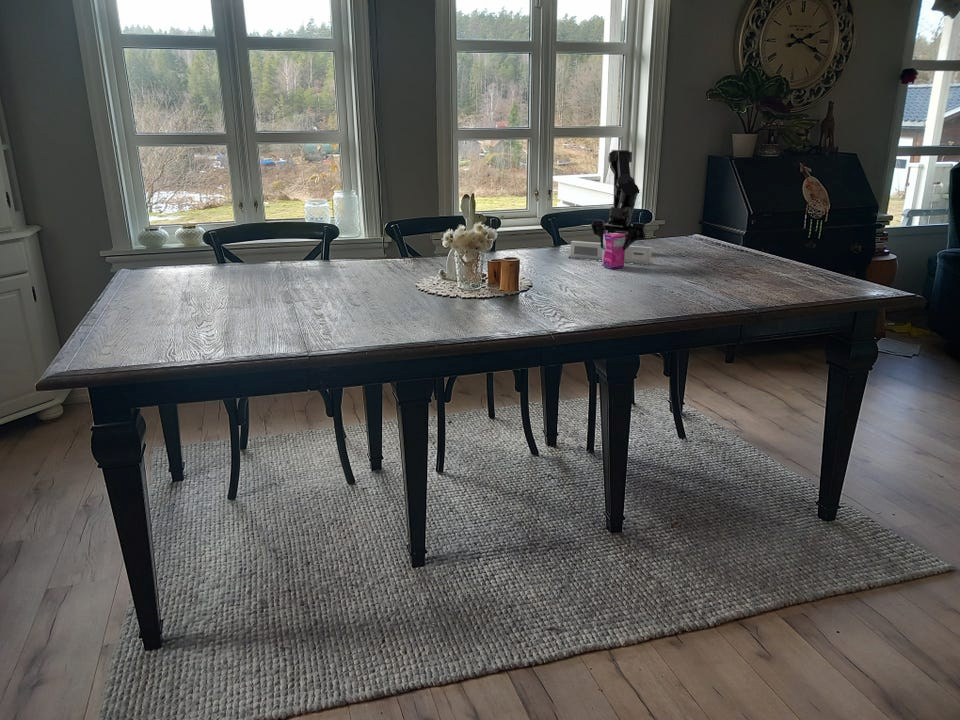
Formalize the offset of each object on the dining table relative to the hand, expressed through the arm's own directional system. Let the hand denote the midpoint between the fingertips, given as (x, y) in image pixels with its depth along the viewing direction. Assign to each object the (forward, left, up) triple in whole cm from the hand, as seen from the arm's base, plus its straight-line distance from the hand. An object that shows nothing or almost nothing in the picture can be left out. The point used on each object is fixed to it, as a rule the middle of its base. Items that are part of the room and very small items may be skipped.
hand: (612, 248), depth 250 cm
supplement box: (-1, 0, -7) cm, 7 cm away
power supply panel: (-13, -5, -7) cm, 16 cm away
